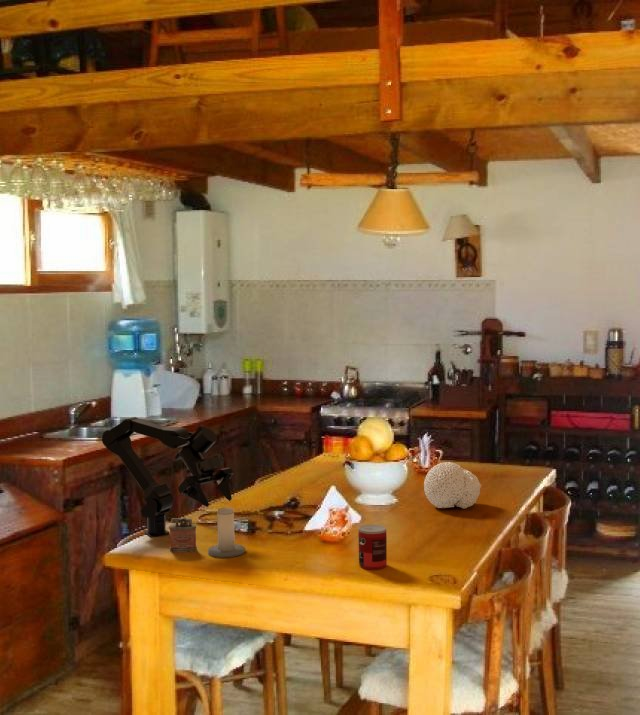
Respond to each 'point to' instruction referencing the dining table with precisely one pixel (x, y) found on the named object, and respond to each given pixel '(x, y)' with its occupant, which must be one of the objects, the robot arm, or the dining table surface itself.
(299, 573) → the dining table surface
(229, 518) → the salt shaker
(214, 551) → the disc
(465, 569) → the dining table surface
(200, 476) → the robot arm
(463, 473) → the beige brain coral
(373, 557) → the canned food
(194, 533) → the lighter
